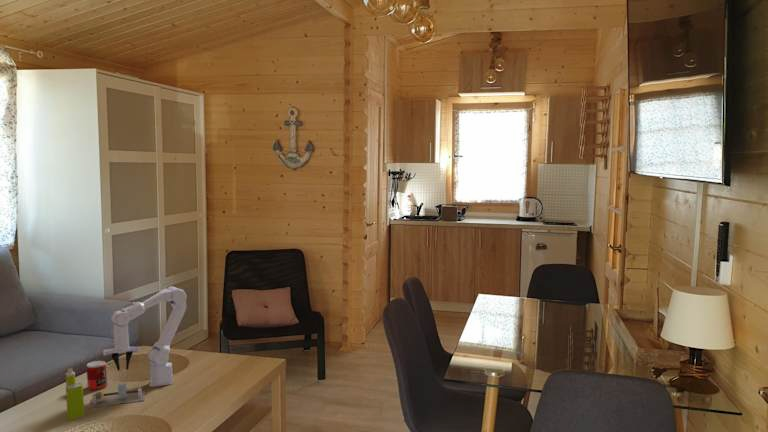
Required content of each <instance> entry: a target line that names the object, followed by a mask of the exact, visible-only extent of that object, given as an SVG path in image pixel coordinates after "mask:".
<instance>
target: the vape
mask: <svg viewBox="0 0 768 432" xmlns="http://www.w3.org/2000/svg"><path fill="white" fill-rule="evenodd" d="M65 382H66V387H65V396H66V411H67V413H66V414H67V419H68V421H74V420H78V419H80V417H81V418H83V417H85V404H84V389H83V387H84V385H83V383H82V382H81V383H80V382H79V383H76V371H73V367H68V368H67V372H66V373H65Z"/></svg>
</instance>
